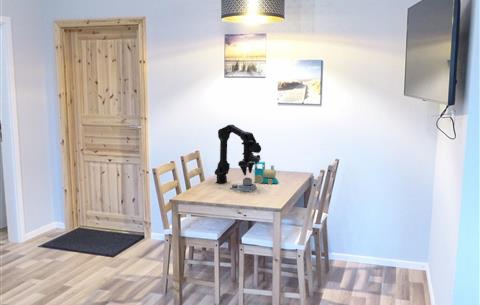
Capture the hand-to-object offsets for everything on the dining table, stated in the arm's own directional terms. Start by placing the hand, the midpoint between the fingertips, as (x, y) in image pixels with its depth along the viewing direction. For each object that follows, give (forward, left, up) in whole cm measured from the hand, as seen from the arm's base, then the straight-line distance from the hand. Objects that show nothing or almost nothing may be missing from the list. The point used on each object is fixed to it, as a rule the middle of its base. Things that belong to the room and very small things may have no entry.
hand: (247, 174), depth 317 cm
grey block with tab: (0, 0, -9) cm, 9 cm away
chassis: (-3, 0, -11) cm, 11 cm away
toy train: (+5, +25, -11) cm, 28 cm away
